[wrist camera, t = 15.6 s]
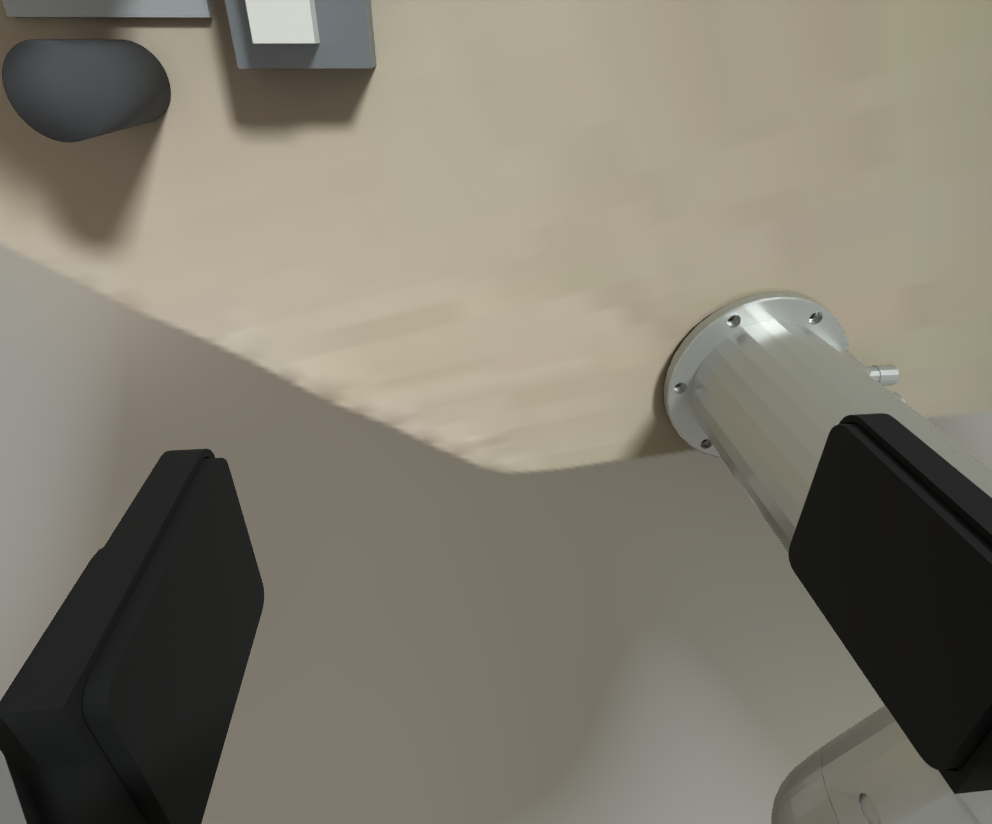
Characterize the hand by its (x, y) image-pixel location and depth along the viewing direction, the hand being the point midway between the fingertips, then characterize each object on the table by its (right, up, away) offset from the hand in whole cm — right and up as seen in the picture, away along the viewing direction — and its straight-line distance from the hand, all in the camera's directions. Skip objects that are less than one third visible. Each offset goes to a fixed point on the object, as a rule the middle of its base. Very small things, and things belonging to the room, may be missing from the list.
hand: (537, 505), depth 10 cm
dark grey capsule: (-19, +18, +20) cm, 33 cm away
